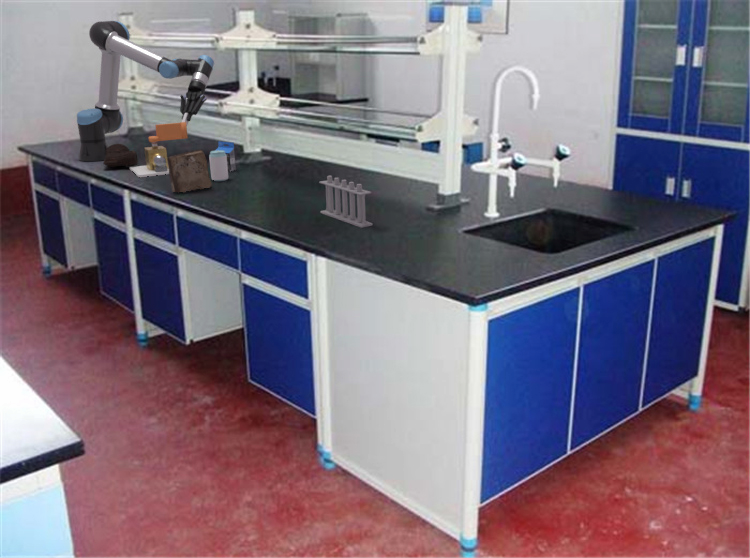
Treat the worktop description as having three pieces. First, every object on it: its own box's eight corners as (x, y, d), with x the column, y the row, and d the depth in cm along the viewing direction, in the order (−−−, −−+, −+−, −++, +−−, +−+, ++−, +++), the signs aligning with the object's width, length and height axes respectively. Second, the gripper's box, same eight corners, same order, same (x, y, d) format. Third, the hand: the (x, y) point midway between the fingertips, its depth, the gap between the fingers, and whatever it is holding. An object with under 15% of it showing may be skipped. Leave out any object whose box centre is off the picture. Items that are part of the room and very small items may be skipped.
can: (228, 177, 327) (226, 149, 323) (228, 181, 321) (225, 152, 317) (211, 178, 326) (209, 150, 322) (211, 182, 320) (208, 153, 316)
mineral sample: (209, 186, 312) (205, 148, 307) (214, 188, 309) (210, 150, 304) (169, 192, 303) (165, 154, 298) (173, 194, 300) (169, 155, 295)
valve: (144, 165, 354) (140, 140, 350) (161, 163, 357) (158, 138, 353) (153, 172, 337) (149, 146, 333) (171, 170, 340) (168, 144, 336)
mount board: (129, 169, 352) (129, 167, 351) (176, 164, 360) (175, 162, 360) (139, 177, 333) (138, 175, 333) (187, 172, 342) (187, 169, 341)
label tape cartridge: (214, 170, 343) (212, 142, 339) (220, 168, 347) (217, 141, 343) (231, 171, 339) (228, 143, 335) (236, 170, 343) (234, 142, 339)
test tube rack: (372, 225, 249) (371, 185, 245) (361, 228, 247) (359, 187, 243) (331, 211, 269) (329, 173, 264) (320, 213, 266) (318, 175, 262)
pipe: (133, 150, 348) (136, 140, 361) (99, 154, 346) (103, 145, 359) (138, 170, 352) (141, 160, 365) (104, 175, 350) (108, 165, 364)
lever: (150, 142, 340) (148, 126, 338) (148, 141, 344) (146, 125, 342) (188, 138, 347) (187, 122, 345) (186, 137, 351) (184, 121, 349)
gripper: (213, 90, 363) (199, 131, 354) (189, 90, 367) (174, 131, 357) (207, 79, 357) (192, 121, 347) (182, 79, 360) (167, 121, 351)
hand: (183, 126), depth 352 cm, fingers closed
